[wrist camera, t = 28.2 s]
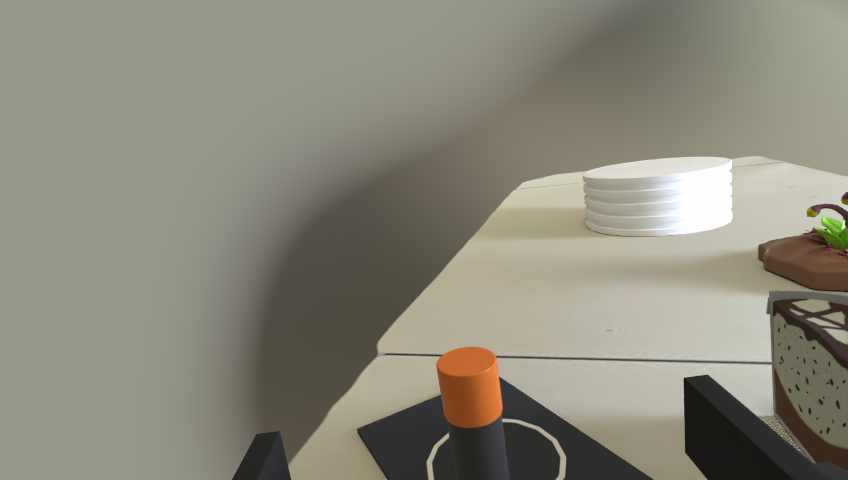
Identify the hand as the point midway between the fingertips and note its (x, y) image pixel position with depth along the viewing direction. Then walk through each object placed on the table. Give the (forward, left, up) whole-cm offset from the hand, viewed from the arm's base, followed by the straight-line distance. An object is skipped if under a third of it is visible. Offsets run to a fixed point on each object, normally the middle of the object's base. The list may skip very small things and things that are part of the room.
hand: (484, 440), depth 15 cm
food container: (+29, +2, -16) cm, 33 cm away
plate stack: (+80, +58, -16) cm, 100 cm away
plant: (+68, +18, -16) cm, 72 cm away
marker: (+4, +9, -15) cm, 18 cm away
